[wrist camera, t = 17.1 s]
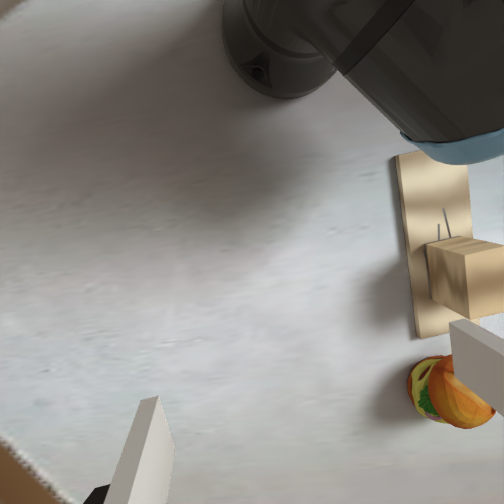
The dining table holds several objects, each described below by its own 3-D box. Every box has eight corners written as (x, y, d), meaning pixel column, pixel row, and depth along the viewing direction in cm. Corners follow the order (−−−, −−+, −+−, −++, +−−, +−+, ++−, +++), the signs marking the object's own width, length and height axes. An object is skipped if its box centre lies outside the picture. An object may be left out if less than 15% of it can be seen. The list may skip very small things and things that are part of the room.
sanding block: (423, 243, 47) (464, 255, 39) (458, 235, 47) (506, 245, 40) (429, 298, 49) (470, 320, 41) (463, 290, 49) (510, 310, 41)
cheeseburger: (394, 412, 53) (436, 444, 43) (400, 341, 54) (442, 357, 44) (456, 416, 54) (511, 449, 44) (461, 346, 55) (515, 363, 45)
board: (395, 155, 46) (398, 155, 45) (459, 141, 46) (465, 140, 45) (416, 336, 51) (420, 339, 50) (474, 322, 51) (480, 324, 50)
